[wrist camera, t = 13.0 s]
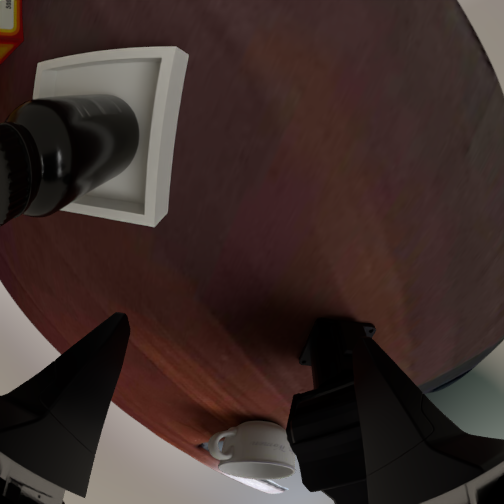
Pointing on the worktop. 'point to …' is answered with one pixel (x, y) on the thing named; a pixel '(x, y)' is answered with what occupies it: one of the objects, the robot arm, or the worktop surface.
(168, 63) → the tray
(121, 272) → the worktop surface
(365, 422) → the robot arm
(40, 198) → the supplement bottle
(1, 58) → the baking soda box
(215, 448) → the teacup
